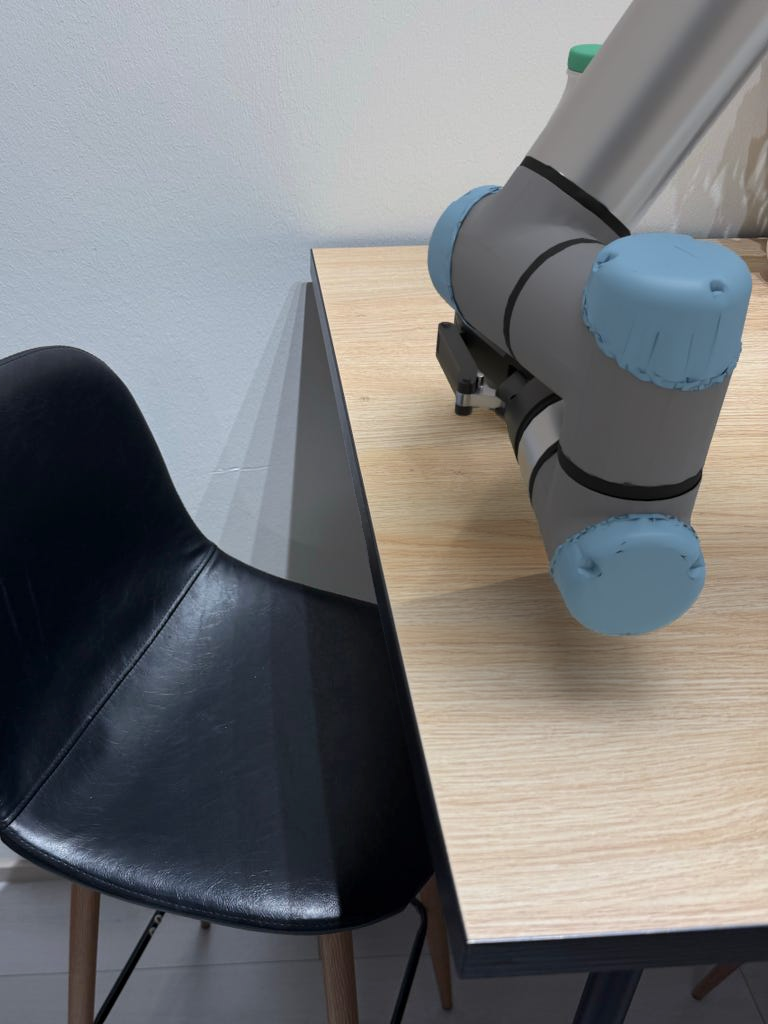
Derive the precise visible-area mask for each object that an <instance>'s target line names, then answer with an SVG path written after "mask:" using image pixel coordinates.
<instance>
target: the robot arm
mask: <svg viewBox="0 0 768 1024" xmlns="http://www.w3.org/2000/svg"><path fill="white" fill-rule="evenodd" d="M601 45H602V46H601V47H600V49H599V50H598V52H597V53H596V54H595V56H594V57H593V59H592V60H591V62H590V63H589V65H588V66H587V67H586V69H585V70H584V72H583V73H582V75H581V76H580V78H579V79H578V80H577V82H576V83H575V85H574V86H573V88H572V89H571V90H570V92H569V93H568V95H567V96H566V98H565V99H564V101H563V102H562V103H561V105H560V106H559V108H558V109H557V111H556V112H555V114H554V115H553V116H552V115H551V116H552V118H551V119H550V118H549V119H550V121H549V120H548V121H549V122H548V121H547V123H548V124H547V123H546V125H545V126H544V128H543V130H542V131H541V132H540V133H539V135H538V136H537V138H536V139H535V141H534V142H533V144H532V145H531V146H530V148H529V150H528V151H527V152H526V154H525V155H524V158H523V159H522V161H521V162H520V164H519V165H518V166H516V168H515V170H514V171H513V172H512V174H510V176H509V178H508V180H506V182H505V184H504V185H503V186H501V185H495V184H485V185H481V186H477V187H474V188H472V189H470V190H469V191H468V192H465V194H463V195H461V196H460V197H459V198H457V199H456V200H454V201H452V202H451V203H450V204H449V205H448V206H447V207H446V208H445V210H444V211H443V212H442V213H441V215H440V216H439V218H438V220H437V221H436V223H435V225H434V227H433V230H432V232H431V235H430V238H429V242H428V248H427V260H426V261H427V270H428V274H429V278H430V281H431V283H432V286H433V287H434V290H435V291H436V292H437V294H438V296H439V297H440V298H441V299H443V301H444V302H445V303H446V304H447V305H448V306H449V307H450V308H452V309H453V310H454V318H453V322H450V321H441V322H439V323H438V324H437V334H436V345H435V358H436V361H437V362H438V364H439V366H440V368H441V370H442V372H443V374H444V376H445V378H446V381H447V383H448V384H449V386H450V388H451V389H452V393H453V394H454V396H455V402H454V414H455V415H457V416H458V417H468V416H471V415H472V414H473V411H474V409H479V408H483V409H485V408H486V409H488V408H494V411H493V412H494V413H495V415H496V416H497V417H499V418H500V419H502V420H503V421H504V422H505V427H506V430H507V431H506V432H507V435H508V439H509V441H510V445H511V448H512V450H513V454H514V457H515V460H516V462H517V465H518V466H519V467H518V468H519V471H520V474H521V477H522V479H523V484H524V486H525V489H526V490H525V491H526V492H527V496H528V498H529V502H530V505H531V508H532V511H533V513H534V517H535V520H536V523H537V526H538V530H539V534H540V536H541V540H542V544H543V547H544V550H545V553H546V556H547V560H548V563H549V565H548V566H549V567H548V570H549V571H548V572H549V574H550V577H551V579H552V581H553V582H554V584H555V585H556V587H557V589H558V591H559V593H560V596H561V597H562V600H563V602H564V604H565V607H566V609H567V610H568V612H569V613H570V615H571V616H572V618H574V619H575V620H576V621H577V622H578V623H579V624H581V626H582V627H584V628H586V629H588V630H590V631H592V632H595V633H597V634H601V635H605V636H610V637H611V636H612V637H617V636H618V637H625V636H627V637H628V636H629V637H630V636H633V637H636V636H642V635H645V634H649V633H653V632H657V631H658V630H660V629H662V628H665V627H667V626H669V625H670V624H672V623H674V622H675V621H677V620H678V619H679V618H681V617H682V616H684V614H685V613H687V612H688V611H689V609H690V608H692V606H694V604H695V603H696V601H697V600H698V598H699V597H700V595H701V593H702V591H703V588H704V586H705V582H706V576H707V575H706V574H707V566H706V562H705V556H704V554H703V551H702V547H701V544H700V543H701V539H700V537H699V536H698V534H697V532H696V530H695V529H694V527H693V526H692V524H691V522H692V521H691V520H692V515H693V514H692V513H693V510H694V507H695V504H696V500H697V498H698V495H699V494H698V493H699V491H700V487H701V484H702V480H703V473H704V470H703V469H704V467H705V464H706V460H707V456H708V453H709V450H710V446H711V443H712V440H713V437H714V433H715V431H716V427H717V424H718V421H719V418H720V416H721V415H720V414H721V411H722V408H723V405H724V402H725V399H726V395H727V392H728V389H729V385H730V383H731V379H732V377H733V374H734V370H735V369H736V368H737V365H738V362H739V359H740V356H741V354H742V351H743V347H742V346H743V344H744V343H743V342H742V337H743V332H744V327H745V323H746V318H747V314H748V311H749V305H750V301H751V297H752V292H753V276H752V273H751V271H750V268H749V266H748V264H747V263H746V261H745V260H744V259H743V258H742V257H741V256H740V255H738V254H737V253H736V252H735V251H733V250H731V249H730V248H729V247H726V246H724V245H723V244H721V243H717V242H715V241H712V240H699V239H695V238H694V237H692V236H691V235H688V234H681V233H673V232H646V233H638V234H632V232H634V230H635V229H636V227H638V225H639V224H640V222H641V221H642V219H643V218H644V217H645V215H646V214H648V212H649V210H650V209H651V207H652V206H653V205H654V204H655V203H656V201H657V200H658V198H660V196H661V194H662V193H663V192H664V190H665V189H666V188H667V187H668V185H669V184H671V182H672V180H673V179H674V177H675V176H676V175H677V174H678V172H679V171H680V170H681V168H682V167H683V166H684V165H685V164H686V162H687V160H689V158H690V157H691V155H692V154H693V153H694V152H695V150H696V149H697V148H698V146H699V145H700V144H701V142H702V141H703V139H704V138H705V137H706V136H707V135H708V133H709V132H710V131H711V129H712V128H713V127H714V125H715V124H716V123H717V121H718V120H719V119H720V117H721V116H722V115H723V113H724V112H725V111H726V110H727V109H728V107H729V105H731V103H732V102H733V100H734V99H735V98H736V96H737V95H738V94H739V92H740V91H741V89H743V88H744V86H745V85H746V83H747V82H748V81H749V79H750V78H751V77H752V76H753V74H754V73H755V72H756V70H757V69H758V68H759V66H760V65H761V63H762V62H763V61H764V60H765V58H766V57H767V56H768V0H632V1H631V3H630V4H629V5H628V7H627V8H626V10H625V11H624V12H623V13H622V15H621V17H620V18H619V20H618V21H617V23H616V24H615V26H614V27H613V28H612V30H611V31H610V33H609V34H608V35H607V37H606V38H605V40H604V42H603V43H602V44H601ZM478 370H479V371H480V372H481V373H477V372H478ZM484 375H485V376H486V377H487V378H488V379H489V380H490V381H491V382H492V383H494V384H495V385H496V386H497V389H496V390H495V389H492V388H490V387H489V386H488V384H487V383H486V382H484Z"/></svg>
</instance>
